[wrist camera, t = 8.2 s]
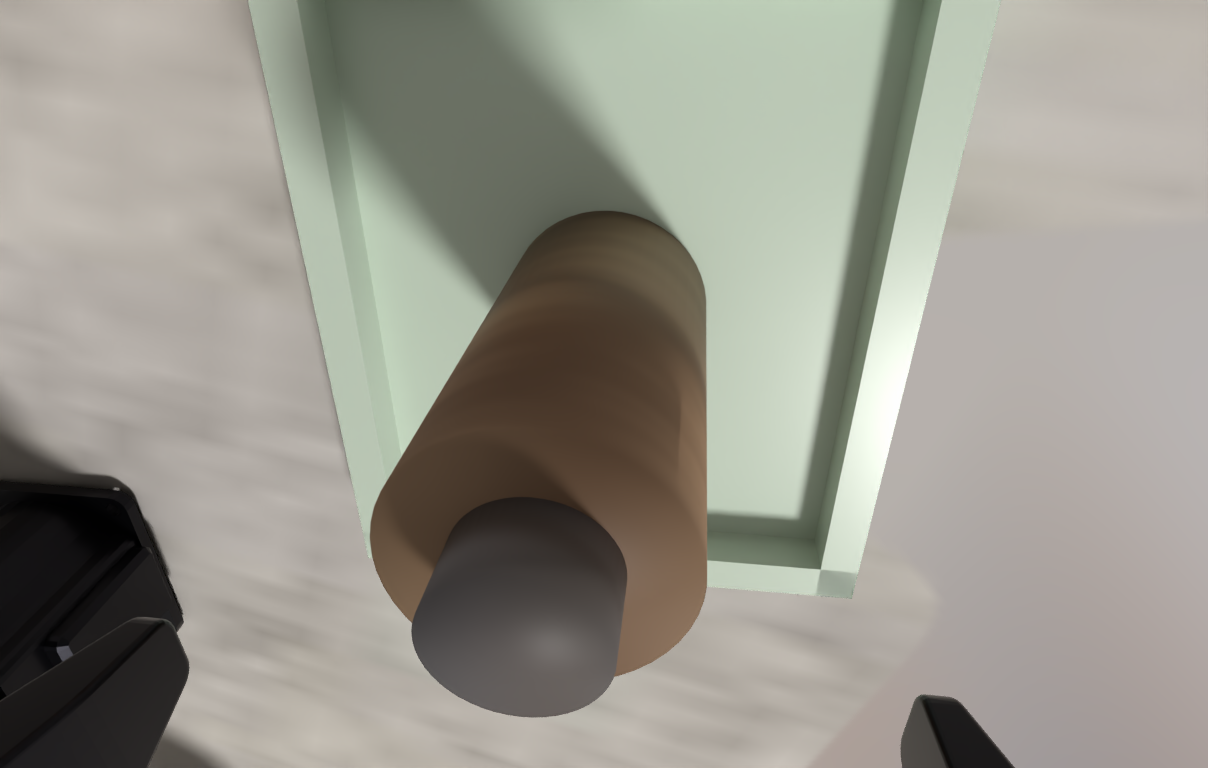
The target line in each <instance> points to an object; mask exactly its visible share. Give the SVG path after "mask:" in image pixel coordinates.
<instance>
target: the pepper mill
mask: <svg viewBox="0 0 1208 768" xmlns="http://www.w3.org/2000/svg"><path fill="white" fill-rule="evenodd" d="M370 545H371V553H372V557H373V561H374V564H375V568H376V571H377V573H378V575H379V578H380V580H381V582H382V584H383V586H384V588H385V590H386V591H387V593H388V594H389V596H390V597H391V599H392V601H393V602H394V603H395V604H396V606H397V607H398V608H399V609H400V611H401V612H402V613H403V614H404V615H405V616H406V617H407V618H408V619H409V620H410V621H411V622H412V641H413V644H414V648H415V651H416V653H417V655H418V657H419V659H420V661H421V662H422V664H423V665H424V667H425V668H426V669H427V671H428V672H429V673H430V674H431V675H432V676H433V677H434V678H435V679H436V680H437V681H438V682H439V683H440V684H441V685H442V686H444V687H445V688H446V689H448V690H449V691H450V692H452V693H454V694H455V695H457V696H458V697H460V698H462V699H464V700H466V701H468V702H470V703H472V704H474V705H477V706H479V707H481V708H484V709H487V710H491V711H494V712H498V713H502V714H506V715H513V716H519V717H549V716H557V715H562V714H566V713H570V712H573V711H576V710H578V709H581V708H583V707H585V706H587V705H589V704H590V703H592V702H593V701H595V700H596V699H597V698H599V697H600V696H601V695H602V694H603V693H604V692H605V691H606V689H607V688H608V687H609V685H610V684H611V682H612V680H613V678H614V677H615V676H619V675H622V674H625V673H628V672H631V671H634V670H636V669H639V668H641V667H643V666H645V665H647V664H649V663H651V662H653V661H654V660H656V659H658V658H659V657H661V656H662V655H664V654H665V653H667V652H668V651H669V650H670V649H671V648H673V647H674V646H675V645H676V644H677V643H679V641H680V640H681V639H682V638H683V637H684V636H685V635H686V633H687V632H688V631H689V630H690V628H691V627H692V625H693V623H694V622H695V620H696V618H697V617H698V615H699V612H700V610H701V607H702V605H703V602H704V598H705V593H706V588H707V374H706V294H705V287H704V284H703V280H702V277H701V274H700V272H699V270H698V267H697V265H696V263H695V262H694V260H693V258H692V257H691V255H690V254H689V252H688V251H687V250H686V249H685V247H684V246H683V245H682V244H681V243H680V242H679V241H678V240H677V239H676V238H675V237H674V236H673V235H672V234H670V233H669V232H667V231H666V230H665V229H663V228H662V227H660V226H659V225H657V224H655V223H653V222H651V221H649V220H647V219H644V218H642V217H639V216H636V215H632V214H628V213H624V212H617V211H592V212H585V213H580V214H577V215H574V216H570V217H568V218H565V219H563V220H561V221H559V222H557V223H555V224H554V225H552V226H550V227H549V228H547V229H546V230H545V231H544V232H542V233H541V234H540V235H539V236H538V237H537V238H536V239H535V240H534V241H533V242H532V243H531V244H530V246H529V247H528V248H527V250H526V251H525V253H524V255H523V256H522V258H521V259H520V261H519V263H518V264H517V266H516V268H515V269H514V271H513V273H512V274H511V276H510V278H509V279H508V281H507V283H506V284H505V286H504V288H503V289H502V291H501V293H500V294H499V296H498V297H497V299H496V301H495V302H494V304H493V306H492V307H491V309H490V311H489V312H488V314H487V316H486V317H485V319H484V321H483V322H482V324H481V326H480V327H479V329H478V331H477V332H476V334H475V336H474V337H473V339H472V341H471V342H470V344H469V346H468V347H467V349H466V351H465V352H464V354H463V355H462V357H461V359H460V360H459V362H458V364H457V365H456V367H455V369H454V370H453V372H452V374H451V375H450V377H449V379H448V380H447V382H446V384H445V385H444V387H443V389H442V390H441V392H440V394H439V395H438V397H437V399H436V400H435V402H434V404H433V405H432V407H431V409H430V410H429V412H428V413H427V415H426V417H425V418H424V420H423V422H422V423H421V425H420V427H419V428H418V430H417V432H416V433H415V435H414V437H413V438H412V440H411V442H410V443H409V445H408V447H407V448H406V450H405V452H404V453H403V455H402V457H401V458H400V460H399V462H398V463H397V465H396V467H395V468H394V470H393V472H392V473H391V475H390V476H389V478H388V480H387V481H386V483H385V485H384V486H383V488H382V490H381V491H380V494H379V496H378V498H377V501H376V503H375V505H374V509H373V513H372V518H371V522H370Z"/></svg>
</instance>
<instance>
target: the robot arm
mask: <svg viewBox="0 0 1208 768" xmlns="http://www.w3.org/2000/svg"><path fill="white" fill-rule="evenodd" d="M183 623H184V621H183V618H182V615H181V613H180V610H179V608H178V606H177V603H176V601H175V598H174V596H173V593H172V591H171V589H170V586H169V584H168V581H167V579H166V577H165V574H164V572H163V569H162V567H161V565H160V562H159V560H158V557H157V555H156V552H155V550H154V548H153V545H152V543H151V540H150V538H149V536H148V533H147V531H146V528H145V526H144V524H143V521H142V519H141V516H140V514H139V512H138V509H137V507H136V504H135V502H134V501H133V499H132V498H131V497H130V496H128V495H127V494H125V493H123V492H121V491H117V490H105V489H92V488H79V487H67V486H54V485H41V484H28V483H15V482H3V481H0V768H148V766H149V764H150V761H151V759H152V757H153V755H154V753H155V750H156V748H157V746H158V744H159V742H160V739H161V737H162V735H163V733H164V730H165V728H166V726H167V724H168V722H169V719H170V717H171V715H172V713H173V711H174V708H175V706H176V704H177V702H178V700H179V697H180V695H181V693H182V691H183V689H184V686H185V684H186V681H187V678H188V674H189V661H188V658H187V656H186V653H185V651H184V649H183V646H182V644H181V642H180V639H179V637H178V635H177V632H178V630H179V629H180V628H181V626H182V625H183ZM901 762H902V768H1015V767H1014V766H1013V765H1012V764H1011V763H1010V761H1009V760H1008V759H1007V758H1006V757H1005V755H1004V754H1003V753H1002V752H1001V750H1000V749H999V748H998V747H997V746H996V744H995V743H994V742H993V741H992V740H991V738H990V737H989V736H988V735H987V734H986V733H985V731H984V730H983V729H982V728H981V726H980V725H979V724H978V723H977V722H976V720H975V719H974V718H973V717H972V716H971V714H970V713H969V712H968V711H967V709H966V708H965V707H964V706H963V705H962V704H961V703H960V702H959V701H958V700H956V699H954V698H951V697H945V696H935V695H920V696H918V697H917V698H916V699H915V701H914V704H913V707H912V709H911V713H910V715H909V718H908V721H907V724H906V727H905V729H904V732H903V735H902V739H901Z"/></svg>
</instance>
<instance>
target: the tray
mask: <svg viewBox="0 0 1208 768" xmlns="http://www.w3.org/2000/svg"><path fill="white" fill-rule="evenodd" d="M1000 3H1001V0H248V4H249V8H250V13H251V17H252V22H253V27H254V31H255V36H256V41H257V45H258V50H259V54H260V59H261V64H262V68H263V73H264V78H265V82H266V87H267V91H268V96H269V101H270V105H271V110H272V115H273V119H274V124H275V128H276V133H277V138H278V142H279V147H280V152H281V156H282V161H283V165H284V170H285V175H286V179H287V184H288V189H289V193H290V198H291V202H292V207H293V212H294V216H295V221H296V226H297V230H298V235H299V239H300V244H301V249H302V253H303V258H304V263H305V267H306V272H307V276H308V281H309V286H310V290H311V295H312V300H313V304H314V309H315V313H316V318H317V323H318V327H319V332H320V337H321V341H322V346H323V350H324V355H325V360H326V364H327V369H328V374H329V378H330V383H331V387H332V392H333V397H334V401H335V406H336V411H337V415H338V420H339V424H340V429H341V434H342V438H343V443H344V448H345V452H346V457H347V461H348V466H349V471H350V475H351V480H352V485H353V489H354V494H355V498H356V503H357V508H358V512H359V517H360V522H361V526H362V531H363V535H364V540H365V545H366V549H367V554H368V558H373V557H372V553H371V545H370V522H371V518H372V513H373V509H374V505H375V503H376V501H377V498H378V496H379V494H380V491H381V490H382V488H383V486H384V485H385V483H386V481H387V480H388V478H389V476H390V475H391V473H392V472H393V470H394V468H395V467H396V465H397V463H398V462H399V460H400V458H401V457H402V455H403V453H404V452H405V450H406V448H407V447H408V445H409V443H410V442H411V440H412V438H413V437H414V435H415V433H416V432H417V430H418V428H419V427H420V425H421V423H422V422H423V420H424V418H425V417H426V415H427V413H428V412H429V410H430V409H431V407H432V405H433V404H434V402H435V400H436V399H437V397H438V395H439V394H440V392H441V390H442V389H443V387H444V385H445V384H446V382H447V380H448V379H449V377H450V375H451V374H452V372H453V370H454V369H455V367H456V365H457V364H458V362H459V360H460V359H461V357H462V355H463V354H464V352H465V351H466V349H467V347H468V346H469V344H470V342H471V341H472V339H473V337H474V336H475V334H476V332H477V331H478V329H479V327H480V326H481V324H482V322H483V321H484V319H485V317H486V316H487V314H488V312H489V311H490V309H491V307H492V306H493V304H494V302H495V301H496V299H497V297H498V296H499V294H500V293H501V291H502V289H503V288H504V286H505V284H506V283H507V281H508V279H509V278H510V276H511V274H512V273H513V271H514V269H515V268H516V266H517V264H518V263H519V261H520V259H521V258H522V256H523V255H524V253H525V251H526V250H527V248H528V247H529V246H530V244H531V243H532V242H533V241H534V240H535V239H536V238H537V237H538V236H539V235H540V234H541V233H542V232H544V231H545V230H546V229H547V228H549V227H550V226H552V225H554V224H555V223H557V222H559V221H561V220H563V219H565V218H568V217H570V216H574V215H577V214H580V213H585V212H592V211H617V212H624V213H628V214H632V215H636V216H639V217H642V218H644V219H647V220H649V221H651V222H653V223H655V224H657V225H659V226H660V227H662V228H663V229H665V230H666V231H667V232H669V233H670V234H672V235H673V236H674V237H675V238H676V239H677V240H678V241H679V242H680V243H681V244H682V245H683V246H684V247H685V249H686V250H687V251H688V252H689V254H690V255H691V257H692V258H693V260H694V262H695V263H696V265H697V267H698V270H699V272H700V274H701V277H702V280H703V284H704V287H705V294H706V374H707V587H718V588H730V589H742V590H754V591H766V592H777V593H789V594H801V595H813V596H825V597H837V598H849V599H852V595H853V591H854V587H855V583H856V579H857V575H858V571H859V567H860V563H861V559H862V555H863V551H864V547H865V543H866V539H867V535H868V531H869V527H870V523H871V519H872V515H873V511H874V506H875V503H876V499H877V495H878V491H879V487H880V483H881V479H882V475H883V471H884V467H885V463H886V459H887V455H888V451H889V447H890V443H891V439H892V434H893V431H894V427H895V423H896V419H897V415H898V411H899V407H900V403H901V399H902V395H903V391H904V387H905V383H906V379H907V375H908V371H909V367H910V363H911V359H912V355H913V350H914V347H915V343H916V339H917V335H918V331H919V326H920V322H921V319H922V315H923V311H924V307H925V303H926V299H927V295H928V291H929V287H930V283H931V279H932V274H933V271H934V267H935V263H936V259H937V255H938V251H939V247H940V243H941V239H942V235H943V231H944V227H945V223H946V219H947V215H948V211H949V207H950V203H951V199H952V195H953V191H954V187H955V183H956V179H957V175H958V171H959V167H960V163H961V159H962V155H963V151H964V147H965V143H966V139H967V135H968V131H969V127H970V123H971V119H972V115H973V111H974V107H975V103H976V99H977V95H978V91H979V87H980V83H981V79H982V75H983V71H984V67H985V63H986V59H987V55H988V51H989V47H990V43H991V39H992V35H993V31H994V27H995V23H996V19H997V15H998V11H999V7H1000Z"/></svg>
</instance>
